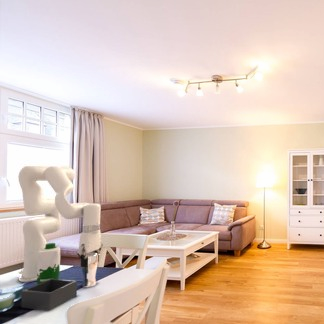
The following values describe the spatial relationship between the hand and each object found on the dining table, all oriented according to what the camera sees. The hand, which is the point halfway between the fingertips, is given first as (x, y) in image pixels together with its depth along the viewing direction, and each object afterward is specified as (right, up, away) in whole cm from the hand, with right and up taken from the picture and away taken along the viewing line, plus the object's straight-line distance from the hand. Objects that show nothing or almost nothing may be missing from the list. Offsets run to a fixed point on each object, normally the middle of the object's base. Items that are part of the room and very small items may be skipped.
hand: (90, 264), depth 137 cm
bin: (-6, -9, -19) cm, 22 cm away
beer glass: (0, -10, -1) cm, 10 cm away
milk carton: (-19, -10, -2) cm, 22 cm away
